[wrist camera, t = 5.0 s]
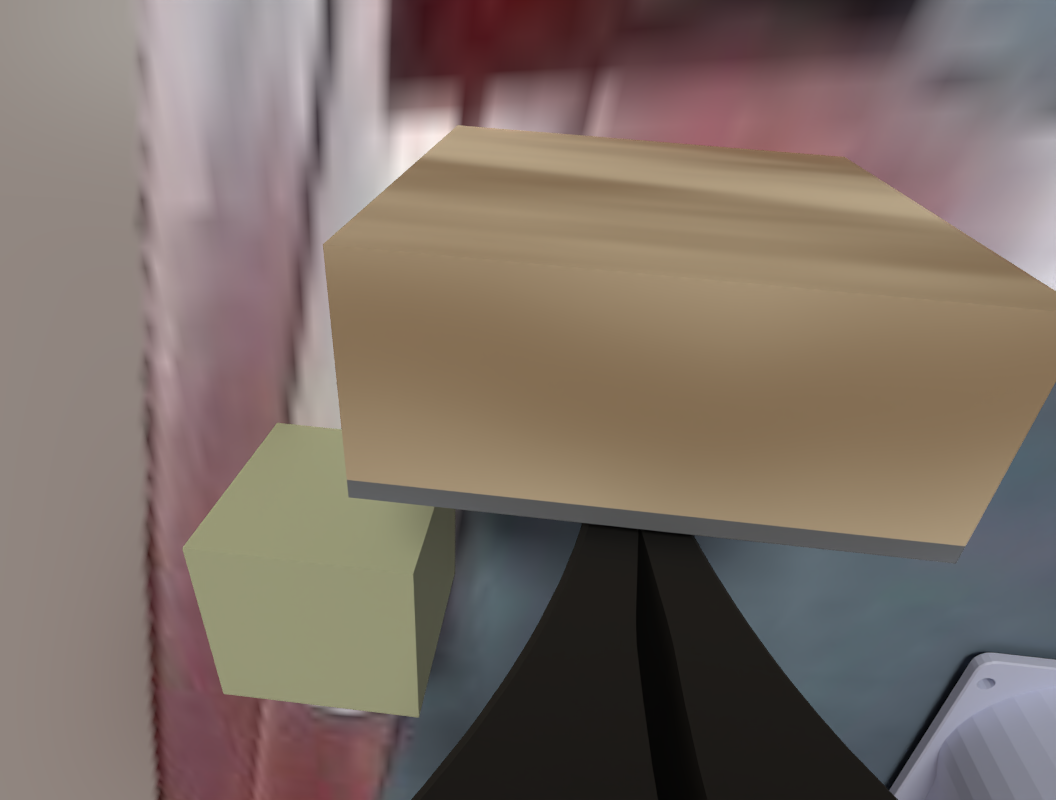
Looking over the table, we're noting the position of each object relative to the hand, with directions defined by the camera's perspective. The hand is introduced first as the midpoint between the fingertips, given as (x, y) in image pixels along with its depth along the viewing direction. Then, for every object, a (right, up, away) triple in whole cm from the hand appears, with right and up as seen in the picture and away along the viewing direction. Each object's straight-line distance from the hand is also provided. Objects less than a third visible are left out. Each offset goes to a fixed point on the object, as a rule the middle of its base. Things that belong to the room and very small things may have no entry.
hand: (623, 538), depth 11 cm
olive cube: (-6, -1, +9) cm, 11 cm away
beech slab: (+1, +6, +4) cm, 7 cm away
